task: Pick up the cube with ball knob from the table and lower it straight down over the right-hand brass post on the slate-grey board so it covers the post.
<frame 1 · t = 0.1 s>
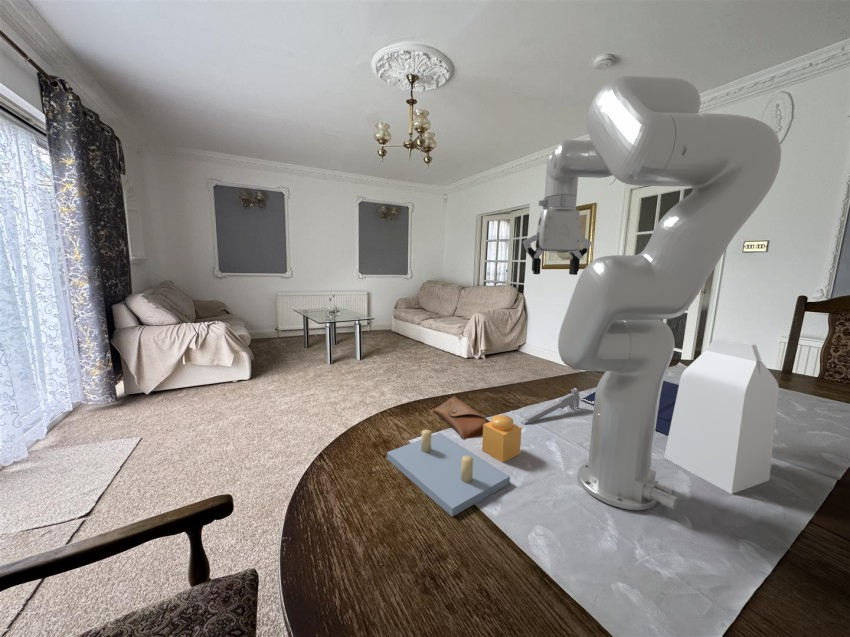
hand: (554, 274, 88), 37 cm above the table, fingers open, 9 cm apart
board: (444, 470, 66), on the table
cube with ball knob: (500, 452, 73), on the table
folded navy cloth: (650, 407, 98), on the table
milk: (713, 469, 68), on the table
caliper: (551, 417, 91), on the table
sunglasses case: (459, 423, 87), on the table
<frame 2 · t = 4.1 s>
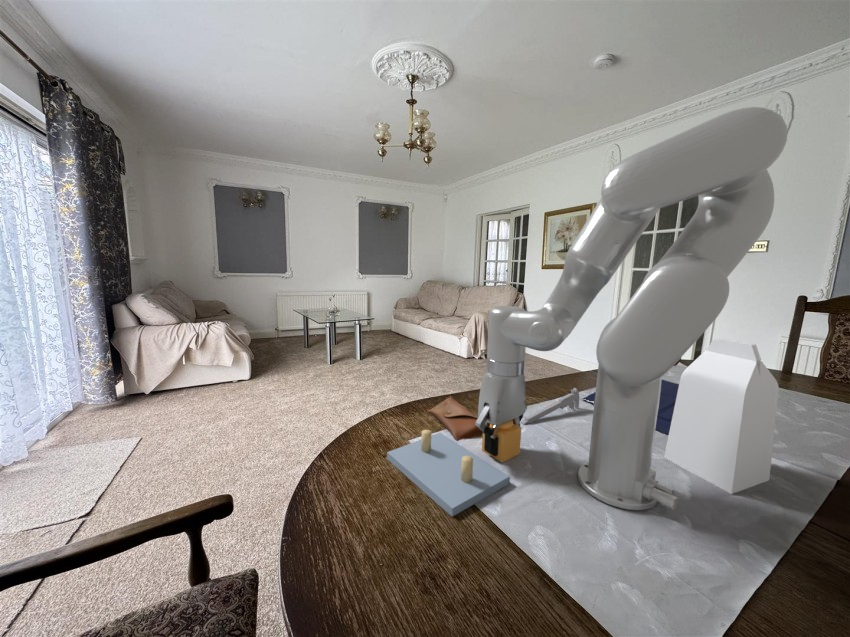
hand: (500, 447, 73), 1 cm above the table, fingers closed on cube with ball knob, 5 cm apart
cube with ball knob: (500, 452, 73), on the table, touching gripper
sunglasses case: (454, 424, 87), on the table
everything else where it was.
when the fingers open (3 cm above the table, at t = 9.5 s): cube with ball knob stays where it is, resting on board.
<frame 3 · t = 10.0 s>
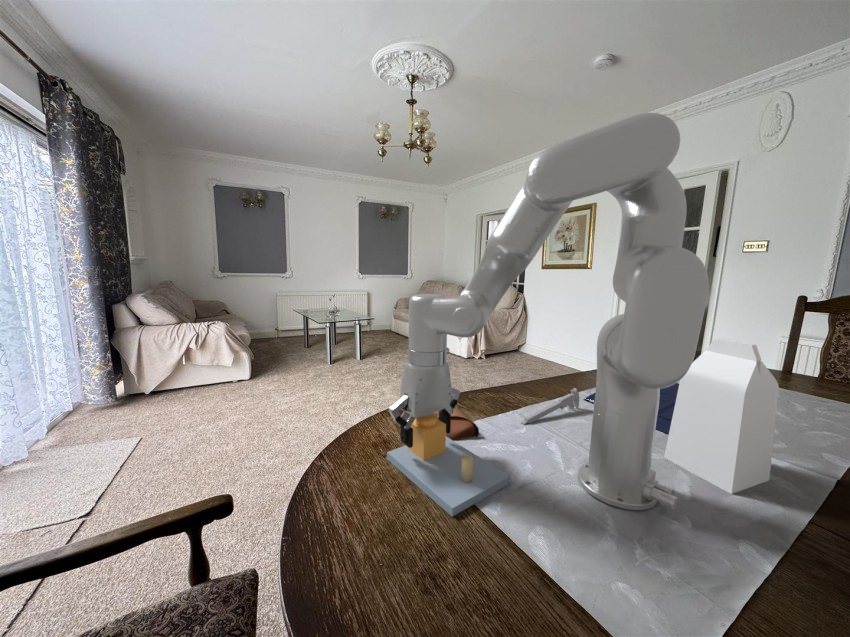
hand: (426, 437, 70), 4 cm above the table, fingers open, 9 cm apart
cube with ball knob: (426, 449, 71), point 1 cm above the table, touching board
sunglasses case: (446, 425, 86), on the table
everything else where it was.
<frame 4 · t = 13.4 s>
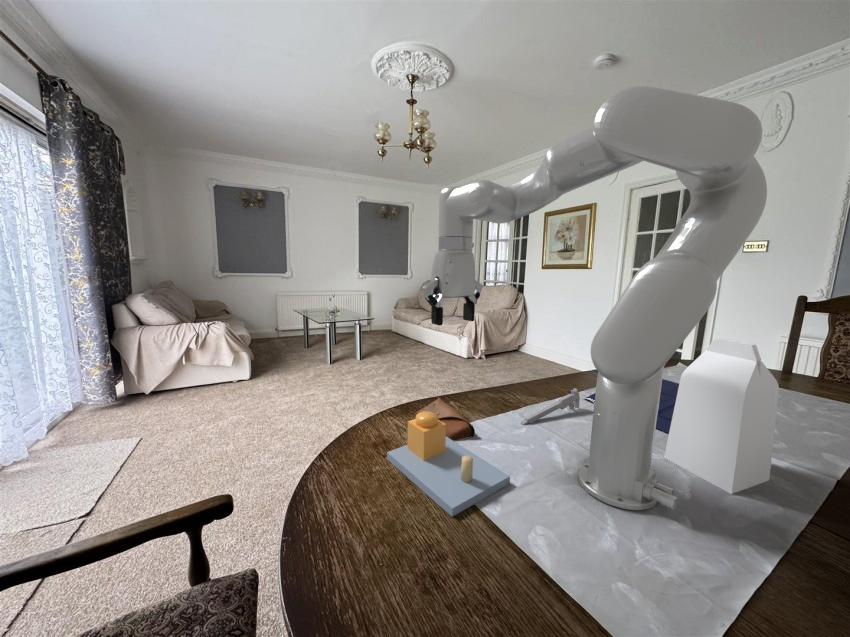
hand: (453, 322, 79), 26 cm above the table, fingers open, 9 cm apart
sunglasses case: (442, 425, 86), on the table, touching board
at the end: cube with ball knob 0.0 cm from the target spot on the board, point 1.5 cm above the board's base; cube with ball knob tilted 0°; the gripper is holding nothing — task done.
